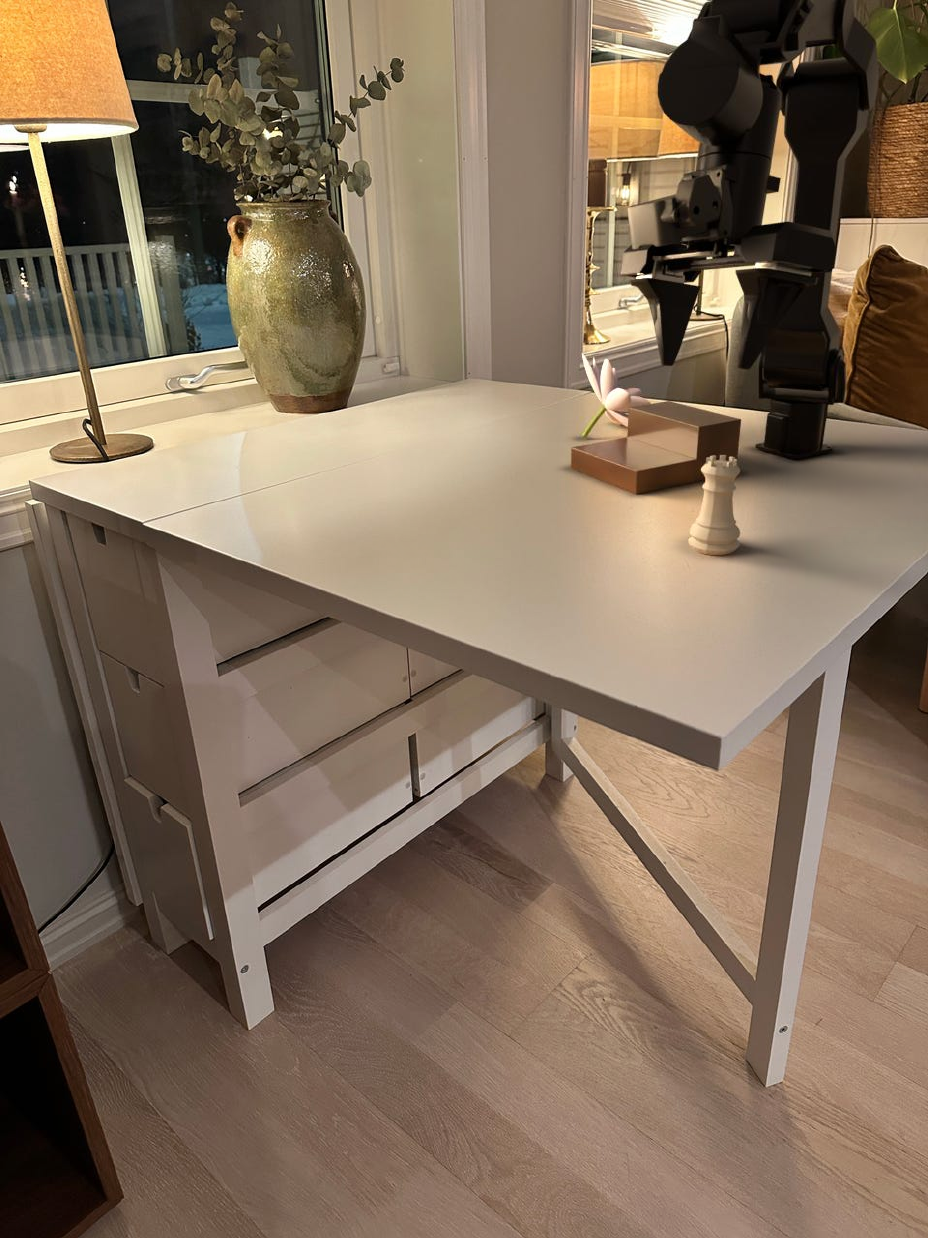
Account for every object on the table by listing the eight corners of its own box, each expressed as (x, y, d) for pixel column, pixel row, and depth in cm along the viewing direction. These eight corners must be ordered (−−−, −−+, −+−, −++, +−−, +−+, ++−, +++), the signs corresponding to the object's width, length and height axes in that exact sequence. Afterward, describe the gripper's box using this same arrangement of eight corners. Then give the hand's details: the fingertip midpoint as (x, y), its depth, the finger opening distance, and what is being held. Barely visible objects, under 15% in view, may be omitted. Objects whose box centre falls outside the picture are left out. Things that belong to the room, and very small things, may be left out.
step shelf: (665, 450, 108) (668, 400, 106) (736, 472, 99) (741, 419, 96) (570, 468, 102) (571, 416, 100) (635, 494, 93) (638, 437, 90)
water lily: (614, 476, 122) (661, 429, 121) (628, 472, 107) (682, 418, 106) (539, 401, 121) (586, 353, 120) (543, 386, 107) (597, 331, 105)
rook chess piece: (730, 559, 76) (740, 468, 72) (680, 551, 78) (687, 462, 74) (745, 543, 79) (755, 455, 76) (697, 535, 81) (704, 449, 78)
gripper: (581, 161, 74) (560, 356, 78) (746, 114, 58) (708, 362, 62) (683, 185, 79) (659, 366, 83) (860, 148, 63) (818, 374, 67)
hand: (703, 367), depth 74 cm, fingers open, 9 cm apart
